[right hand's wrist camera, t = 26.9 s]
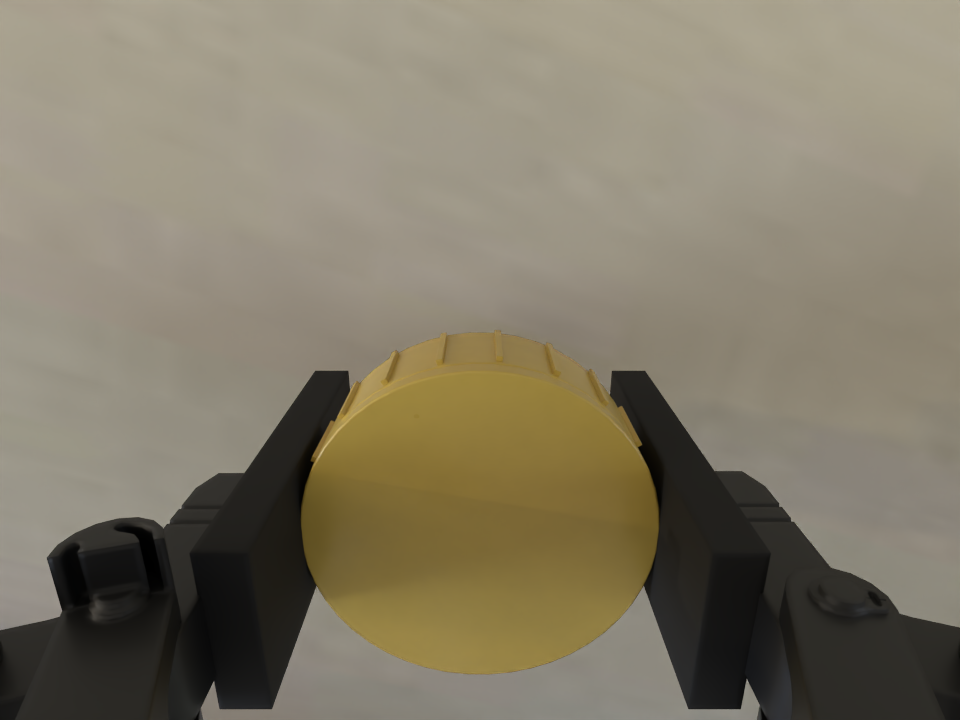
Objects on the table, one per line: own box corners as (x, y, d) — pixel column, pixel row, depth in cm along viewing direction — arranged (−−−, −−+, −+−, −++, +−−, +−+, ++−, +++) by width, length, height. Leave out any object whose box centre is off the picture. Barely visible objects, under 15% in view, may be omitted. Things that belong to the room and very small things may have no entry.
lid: (302, 338, 11) (266, 378, 9) (641, 320, 11) (673, 357, 9) (346, 607, 13) (324, 684, 12) (631, 594, 13) (655, 670, 11)
